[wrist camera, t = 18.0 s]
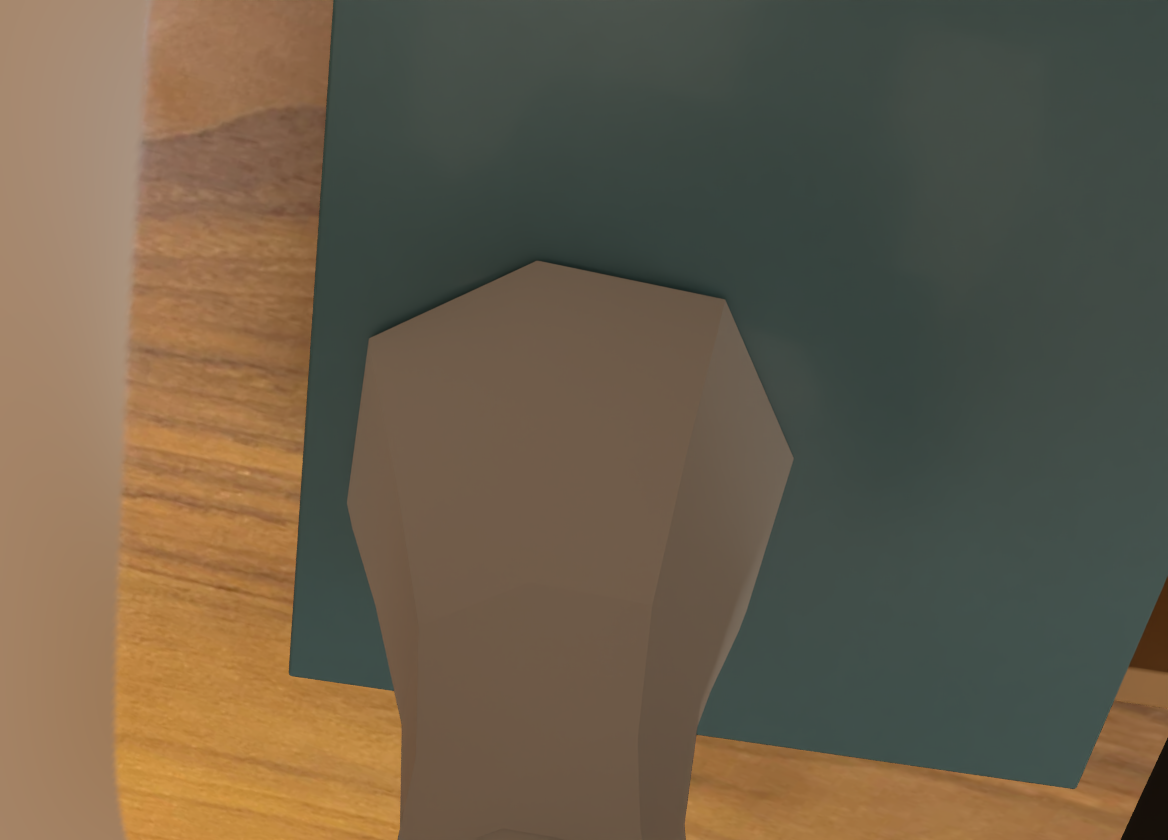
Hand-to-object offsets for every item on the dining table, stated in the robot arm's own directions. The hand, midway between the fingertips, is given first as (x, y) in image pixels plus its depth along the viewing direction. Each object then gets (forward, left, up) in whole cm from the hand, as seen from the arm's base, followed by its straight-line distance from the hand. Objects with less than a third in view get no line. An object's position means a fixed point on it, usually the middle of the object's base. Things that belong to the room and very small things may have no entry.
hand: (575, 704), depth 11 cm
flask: (0, 0, -6) cm, 6 cm away
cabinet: (-3, -2, -16) cm, 16 cm away
